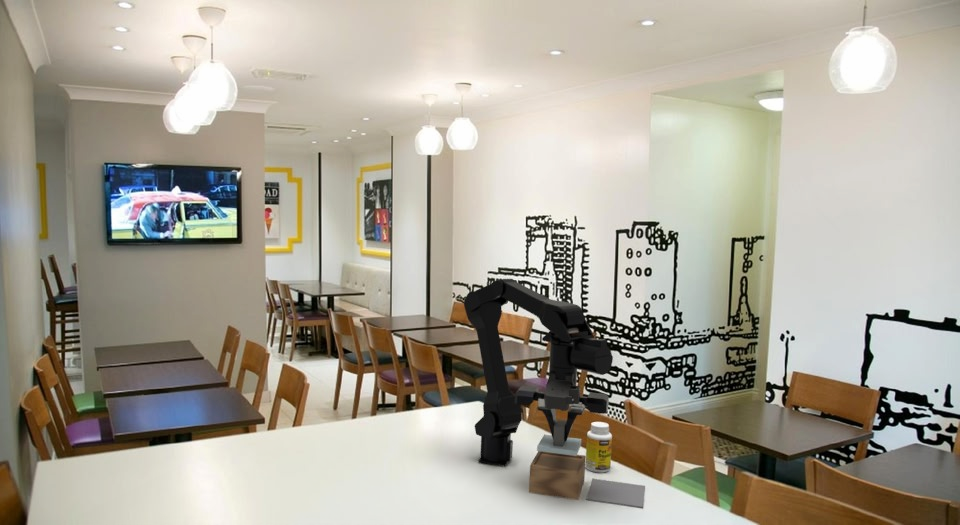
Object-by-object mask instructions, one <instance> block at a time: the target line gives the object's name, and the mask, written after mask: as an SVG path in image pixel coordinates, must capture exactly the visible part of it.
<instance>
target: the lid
mask: <svg viewBox="0 0 960 525" xmlns="http://www.w3.org/2000/svg"><path fill="white" fill-rule="evenodd" d="M566 423H567V419H556V424H555V425H554V437H553V438H552V434H543V436H542V437H541V439H540V440H539V442H538V444H537V448H536V451H537V452H538V451H542V452H549V453H557V454H565V455H573V456H577V455H579V454H578V453H579V450H580V448H581V446H582V438H575V437H569V436H568V439H567V441H565V429H566Z"/></svg>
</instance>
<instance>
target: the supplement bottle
mask: <svg viewBox="0 0 960 525" xmlns="http://www.w3.org/2000/svg"><path fill="white" fill-rule="evenodd" d="M586 434H587V435H586V447H585V448H586V449H585V450H586V451H585V456H586V458H585V469H587V470H588V471H591V472H593V473H598V474H599V473H600V474H601V473H607V472H609V471H610V470H611V463H612V462H611V461H612V446H613V443H612V442H613V435H612V433H611V432H610V425H609V423H607V422H603V421H594V422H591V423H590V430H589V431H587V433H586Z"/></svg>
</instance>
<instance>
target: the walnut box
mask: <svg viewBox="0 0 960 525" xmlns="http://www.w3.org/2000/svg"><path fill="white" fill-rule="evenodd" d="M585 464H586V454H577V456H573V455H565V454H557V453H549V452H542V451H537V453H536V454H535V456H534V458H533V459H532V462H531V463H530V465H529V479H528V480H529V483H528V493H530V492H531V494H536V495H537V494H538V495H545V496H552V497H557V498H564V499H565V498H566V499H573V500H579V499H580V496H581V493H582V490H583V487H584V483H585V475H586V465H585Z"/></svg>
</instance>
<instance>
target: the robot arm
mask: <svg viewBox="0 0 960 525" xmlns="http://www.w3.org/2000/svg"><path fill="white" fill-rule="evenodd" d="M463 300H464V302H463V306H464V310H465V313H466V317H467V319H468V321H469V322H470V324H471V326H472V327H473V328H474V329H475V330H476V334H477V339H478V340H477V341H478V347H479V352H480V358H481V362H482V368H483V374H484V379H485V380H484V381H485V385H486V396H485V400H484V402H483V404H482V409H483V416H482V417H480V419H479V420H477V422H476V423H475V424H474V430H475V434H476V435H477V436H479V437H480V438H481V439H480V457H479V459H478V460H477V462H478V463H481V464H487V465H495V466H499V467H500V466H503V467H506V466H507V465H508V464H509V462H510V461H511V460H512V458H513V452H514V451H513V447H514V446H513V445H514V441H513V439H512V438H511V436H512V434H516V433H517V430H518V428H519V426H520V423H521V422H522V419H523V413H524V409H523V408H522V406H528V407H529V406H530V405H531V404H533V403H534V402H538V403H537V404H538V406H537V410H538V411H541V412H542V413H543V414H544V417H545V418H546V420H547V424H548V426H549V431H550V433H551V434H550V435H552V438H553V437H554V425H555V424H556V422H557V413H556V412H557V411H556V410H560V411H561V412H565V411H567V418H566V421H567V423H566V429H565V441H567V439H568V437H569V435H570V433H571V431H572V427H573V424H574V422H575V420H576V418H577V416H583V414H584V412H585V410H586V409H587V411H588V412H589V413H590V414H591V413H593V414H602V415H604V414H607V412H608V409H609V404H610V401H609V400H610V398H609V396H608V395H607V394H606V393H601V392H600V393H598V392H589V393H588V395H587V396H582V395H581V387H580V385H577V382H578V381H577V380H578V376H577V375H578V371H584V372H588V373H592V374H597V375H601V376H604V375H606V374H607V373H608V372H609V371H610V370H611V367H612V365H613V360H614V359H613V358H614V357H613V354H612V351H611V349H610V348H609V346H607V343H608V341H607V339H605V338H604V339H603V338H599V339H598V338H595V335H594V333H593V331H592V330H591V328H590V326H589V323H588V321H587V319H586V317H585V315H584V313H583V308H582V307H581V306H579V305H578V304H575V303H572V302H567V301H561V300H555V299H551V298H549V297H547V296H545V295H543V294H541V293H539V292H537V291H534V290H533V289H531V288H528V287H527V286H524V285H523V284H521V283H519V282H518V281H517V280H515V279H513V278H498V279H496V280H494V281H492V282H491V283H489V284H488V285H485V286H483V287H480V288H477V290H472V291H470V292H468V293H467V295H466V297H465V298H464V299H463ZM508 302H510V303H512V304H513V305H515V306H516V307H519V308H521V309H522V310H525V311H526V312H528V313H530V314H531V315H534V316H536V318H538V320H539V322H540V323H541V325H542V326H544V327H545V328H546V329H547V330H548V333H547V334H546V335H544V336H543V337H542V338H541V340H542V341H543V342H547V343H549V361H548V362H549V364H548V365H549V366H548V379H547V382H546V384H545V389H544V391H540V389H539V387H538V386H531V385H521V386H520V387H519V388H518V390H516V392H515V394H514V393H513V391H511V389H510V387H509V382H508V376H507V371H506V365H505V360H504V355H503V349H502V342H501V338H500V332H499V324H500V320H501V318H502V315H503V313H502V311H503V310H502V307H503V306H505V305H506V304H508Z"/></svg>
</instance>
